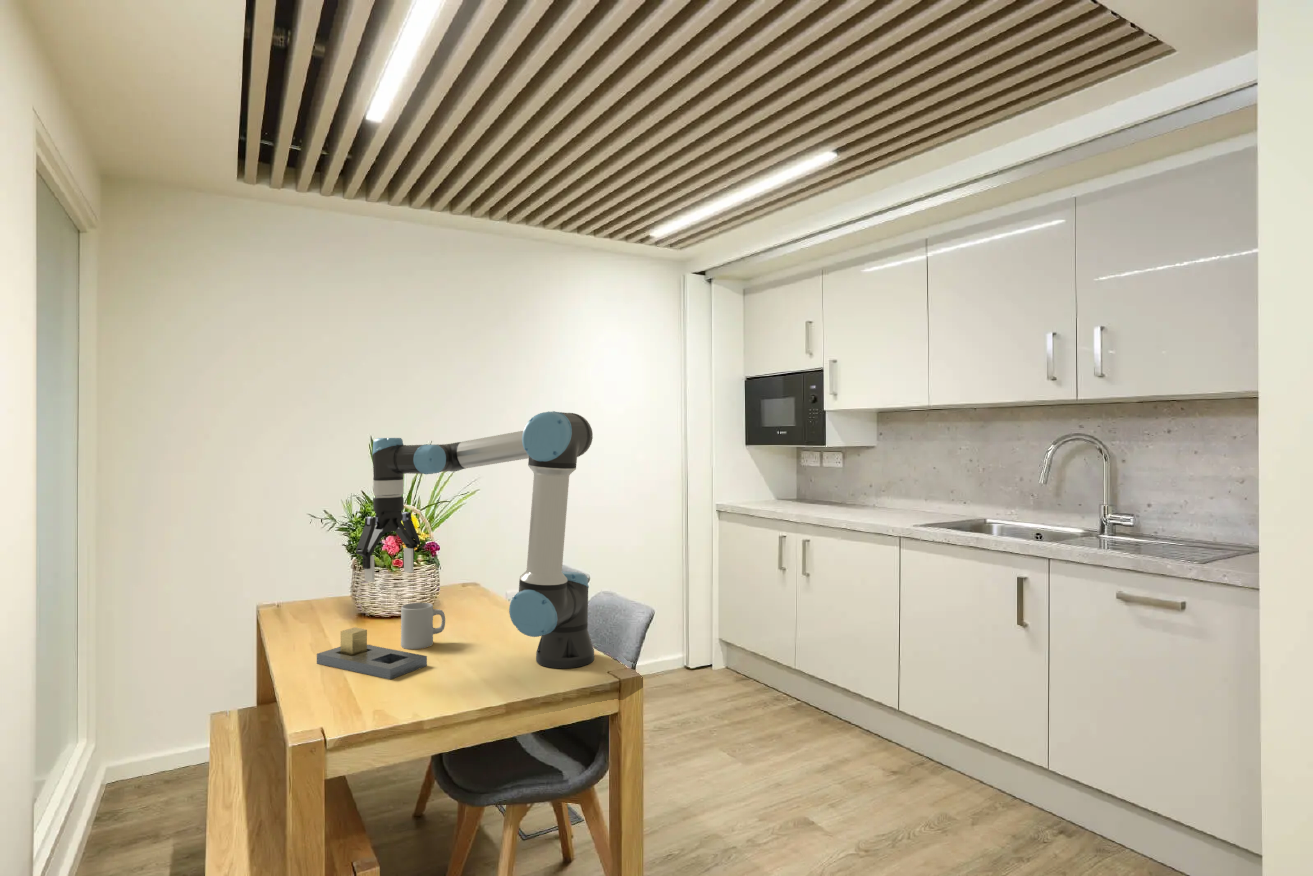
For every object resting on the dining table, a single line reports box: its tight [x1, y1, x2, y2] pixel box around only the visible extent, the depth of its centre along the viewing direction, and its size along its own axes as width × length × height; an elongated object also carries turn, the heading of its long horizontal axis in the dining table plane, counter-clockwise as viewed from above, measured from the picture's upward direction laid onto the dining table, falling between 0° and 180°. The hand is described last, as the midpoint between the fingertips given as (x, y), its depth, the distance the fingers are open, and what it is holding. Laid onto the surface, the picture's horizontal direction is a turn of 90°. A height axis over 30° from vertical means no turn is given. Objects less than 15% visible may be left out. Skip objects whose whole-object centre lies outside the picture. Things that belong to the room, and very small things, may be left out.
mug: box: [400, 602, 446, 650], centre depth 210 cm, size 12×8×11 cm
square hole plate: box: [316, 644, 428, 680], centre depth 192 cm, size 26×12×2 cm, turn 63°
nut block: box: [340, 626, 368, 656], centre depth 194 cm, size 4×4×8 cm
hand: (389, 576), depth 198 cm, fingers open, 13 cm apart
